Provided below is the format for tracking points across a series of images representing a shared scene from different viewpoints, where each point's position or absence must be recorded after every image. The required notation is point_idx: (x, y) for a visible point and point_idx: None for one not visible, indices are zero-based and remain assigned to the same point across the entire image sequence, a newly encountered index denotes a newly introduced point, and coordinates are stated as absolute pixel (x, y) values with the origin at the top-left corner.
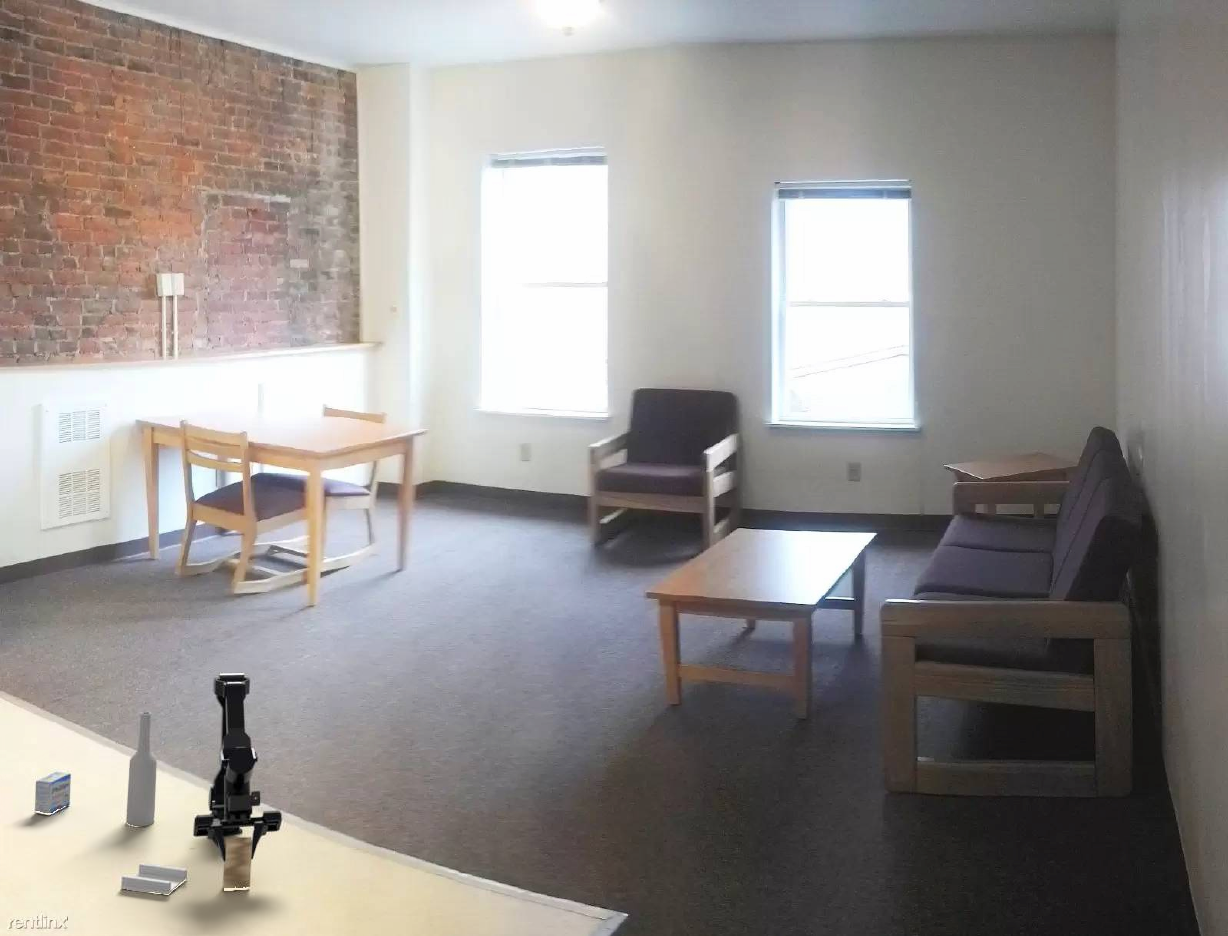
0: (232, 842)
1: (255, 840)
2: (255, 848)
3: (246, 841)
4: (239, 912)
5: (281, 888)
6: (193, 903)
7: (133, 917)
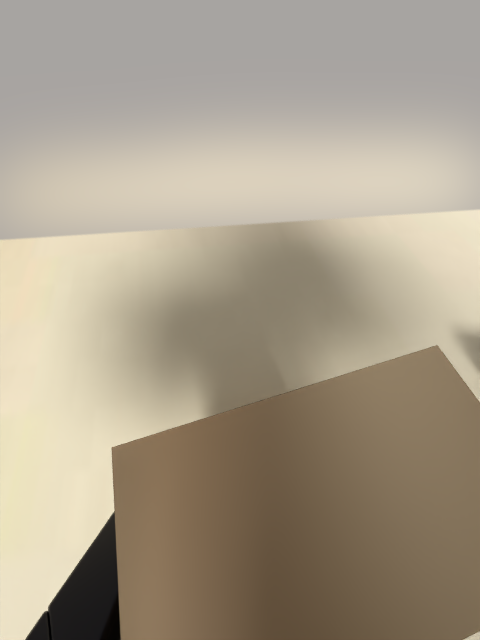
0: (386, 396)
1: (60, 633)
2: (111, 516)
3: (199, 458)
4: (212, 288)
5: (69, 496)
6: (369, 330)
7: (476, 245)
